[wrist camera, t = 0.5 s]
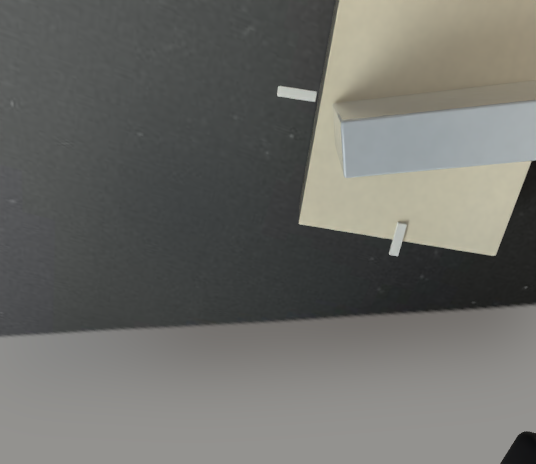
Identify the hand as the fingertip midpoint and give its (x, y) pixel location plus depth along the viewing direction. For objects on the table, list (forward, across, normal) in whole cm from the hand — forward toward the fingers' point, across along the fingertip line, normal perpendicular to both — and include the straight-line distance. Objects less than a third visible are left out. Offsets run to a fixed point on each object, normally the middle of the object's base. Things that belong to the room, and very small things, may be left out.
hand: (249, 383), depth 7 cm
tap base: (+14, -4, -4) cm, 15 cm away
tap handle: (+11, -4, -4) cm, 12 cm away
